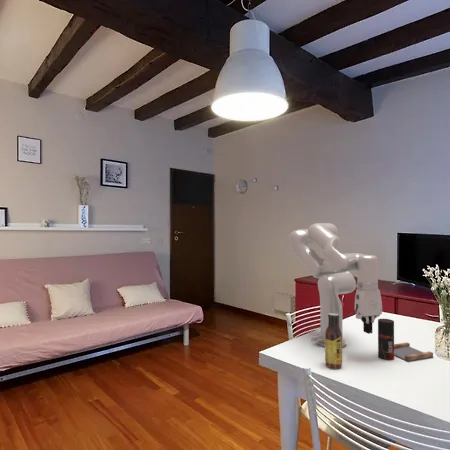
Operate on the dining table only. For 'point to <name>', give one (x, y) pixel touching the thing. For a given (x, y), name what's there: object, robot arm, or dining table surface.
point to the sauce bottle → (333, 342)
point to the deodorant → (386, 339)
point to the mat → (406, 352)
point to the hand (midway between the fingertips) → (367, 332)
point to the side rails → (413, 356)
